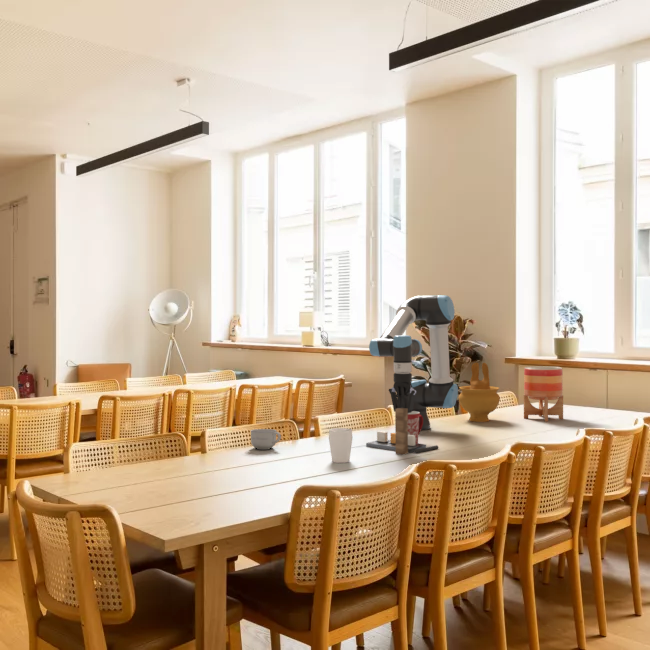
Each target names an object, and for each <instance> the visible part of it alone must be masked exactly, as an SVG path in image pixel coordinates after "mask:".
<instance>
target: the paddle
mask: <svg viewBox="0 0 650 650" xmlns="http://www.w3.org/2000/svg"><path fill="white" fill-rule="evenodd" d="M388 440H389V439H388V431H381V430H379V431H378V430H377V431H376V441H381V442H387V441H388Z"/></svg>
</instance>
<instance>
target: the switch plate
mask: <svg viewBox="0 0 650 650" xmlns="http://www.w3.org/2000/svg"><path fill="white" fill-rule="evenodd" d="M365 444H366V445H365V446H366V447H367V448H375V449H381V450H387V451H394V452H396V444H395V443H391V439H388V441H387V442H381V441H377V440H373V441H370V442H366V443H365ZM426 447H427V444H423V443H418V444H417V443H415V445H414V446H410V445H408V453H415V452H414V450H416V449H421V448H426ZM408 453H407V454H408Z"/></svg>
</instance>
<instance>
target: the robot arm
mask: <svg viewBox="0 0 650 650" xmlns="http://www.w3.org/2000/svg"><path fill="white" fill-rule="evenodd" d="M454 317H455V306H454V302H453V300H452V298H451V297H450V296H449V295H443V294H442V295H441V294H436V295H435V294H430V295H416V296H413V297H410V298H409V299H407V300H406V301H404V302H403V303H402V304H400V306H399V307H398V308H397V310H396V313H395V316H394V318H393V319H392V321H391V322H390V323H389V325H388V326H387V328H386V329H385V330H384V331H383V333H382V334H381V335H380V337H379V338H373V339H371V340H370V342H369V345H368V348H369V353H370V355H371V356H372V357H379V358H380V357H393V372H394V373H393V386H392V387H391V388H388V393H389V394H390V398H391V402H392V408H393V411H394V412H395V409H397V408H407V409H408V413H410V412H412V411H416V412H420V414H419V415H421V416H422V417H423V425H422V428H421V431H424V430H429V429H431V422H430V419H429V416H428V412H427V408H436V409H438V408H439V409H452V408H454V406H455V405H456V403H457V400H458V397H459V386H458V384H457V383H454V379H453V378H452V377H451V375H450V374H451V373H450V371H451V370H450V369H451V368H450V351H449V350H450V349H449V348H450V347H449V331H448V330H449V329H448V328H449V326H450V325H451V322H452V320H454V319H455V318H454ZM415 321H425V326H427V327H428V328H429V329H428V330H429V347H430V366H431V367H430V368H431V377H430V378H429V379H428V381H427V379H418V380H413V376H412V375H413V374H412V373H411V372H413V370H412V369H413V364H412V362H413V361H412V360H413V359H412V358H415V357H418V356H419V355H420V354H422V351H423V344H422V343H421V341H419V339H415V338H412V337H411V335H403V334H404V333H405V332H406V330H407V328H408V327H409V326H410V325H411V324H413V323H414V322H415ZM419 423H420V418H419Z"/></svg>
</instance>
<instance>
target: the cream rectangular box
mask: <svg viewBox="0 0 650 650" xmlns="http://www.w3.org/2000/svg"><path fill="white" fill-rule="evenodd" d="M408 445H410V446H414V445H415V435H408Z"/></svg>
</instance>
